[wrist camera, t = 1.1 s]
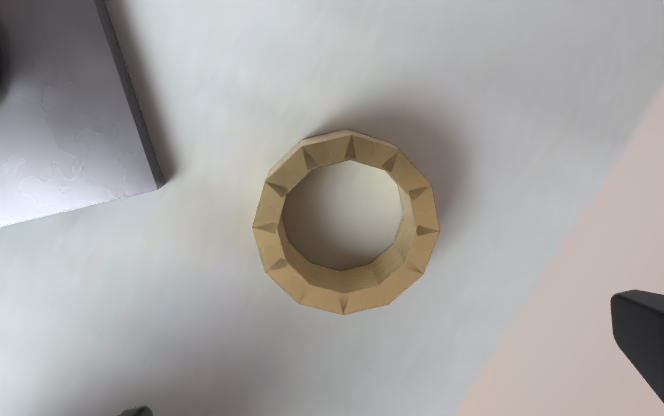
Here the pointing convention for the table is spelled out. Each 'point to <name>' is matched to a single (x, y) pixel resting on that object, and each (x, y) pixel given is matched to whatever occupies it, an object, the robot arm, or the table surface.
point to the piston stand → (67, 112)
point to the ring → (360, 282)
